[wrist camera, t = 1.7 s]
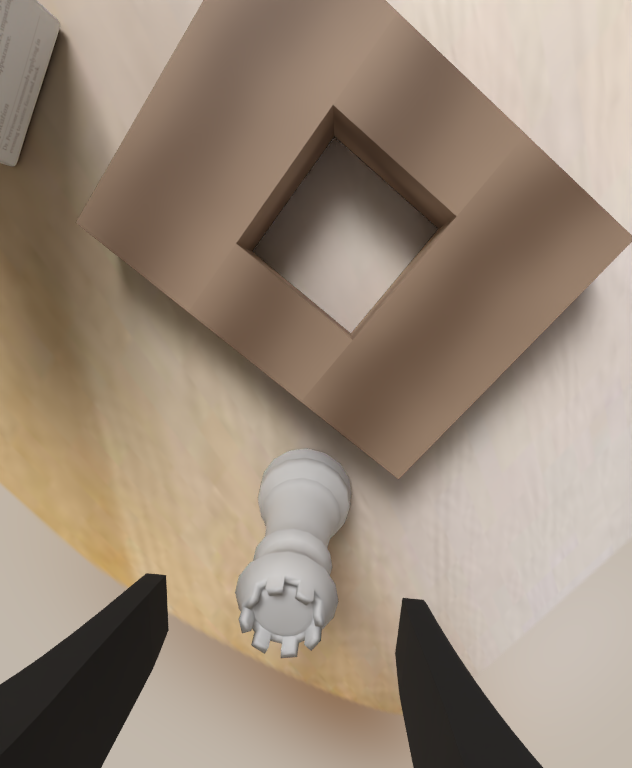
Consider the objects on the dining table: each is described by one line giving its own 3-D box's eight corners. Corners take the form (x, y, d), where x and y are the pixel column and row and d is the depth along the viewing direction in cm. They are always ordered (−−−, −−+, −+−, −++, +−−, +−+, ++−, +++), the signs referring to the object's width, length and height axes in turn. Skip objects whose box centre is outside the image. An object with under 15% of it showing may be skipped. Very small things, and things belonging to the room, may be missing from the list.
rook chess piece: (370, 490, 18) (391, 633, 11) (304, 541, 19) (279, 706, 12) (308, 426, 18) (284, 527, 10) (244, 481, 19) (175, 613, 11)
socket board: (587, 247, 15) (634, 238, 13) (390, 454, 18) (398, 479, 15) (280, -40, 14) (268, -112, 11) (115, 233, 16) (75, 222, 14)
